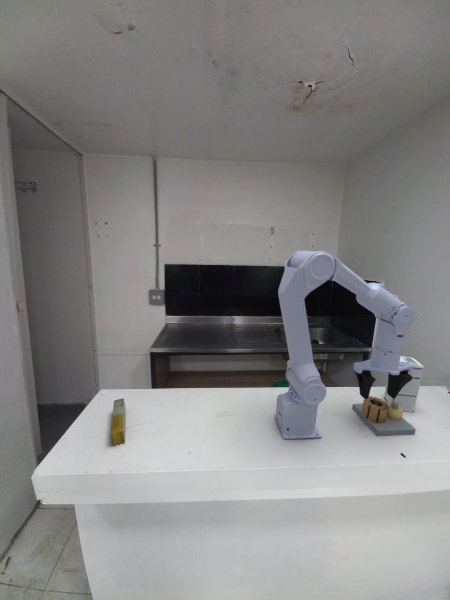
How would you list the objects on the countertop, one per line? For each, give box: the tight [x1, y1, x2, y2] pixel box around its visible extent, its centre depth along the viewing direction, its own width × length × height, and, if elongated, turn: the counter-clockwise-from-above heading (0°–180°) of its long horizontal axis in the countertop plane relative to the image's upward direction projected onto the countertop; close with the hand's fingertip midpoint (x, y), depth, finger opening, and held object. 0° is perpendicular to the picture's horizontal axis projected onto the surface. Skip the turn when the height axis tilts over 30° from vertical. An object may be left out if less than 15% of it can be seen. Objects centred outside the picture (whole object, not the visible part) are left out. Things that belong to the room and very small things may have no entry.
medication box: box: [110, 398, 127, 447], centre depth 57 cm, size 12×3×4 cm, turn 22°
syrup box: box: [383, 355, 425, 413], centre depth 67 cm, size 6×6×14 cm
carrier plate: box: [351, 401, 417, 437], centre depth 62 cm, size 10×10×5 cm
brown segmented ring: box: [362, 395, 389, 424], centre depth 61 cm, size 5×5×4 cm
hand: (377, 396), depth 60 cm, fingers open, 7 cm apart
